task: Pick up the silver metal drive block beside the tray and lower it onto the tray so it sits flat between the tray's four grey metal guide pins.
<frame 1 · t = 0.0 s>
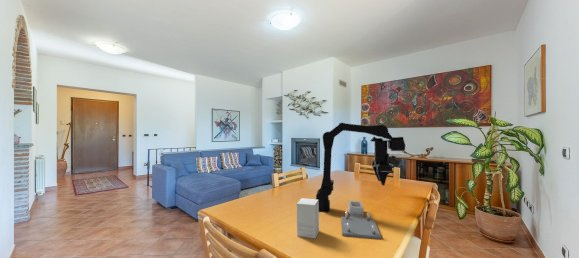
hand: (381, 183, 109), 15 cm above the table, tool pointing down, fingers open, 9 cm apart
pin tray: (359, 227, 92), on the table
drive block: (355, 214, 108), on the table
supplement box: (308, 234, 88), on the table
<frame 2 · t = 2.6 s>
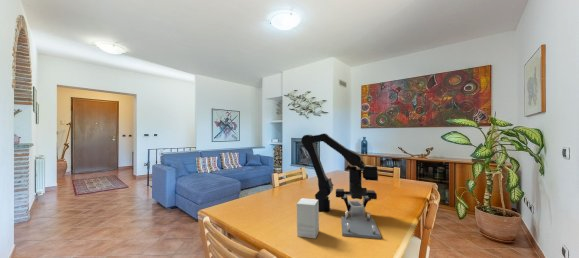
hand: (355, 211, 108), 1 cm above the table, tool pointing down, fingers closed on drive block, 6 cm apart
drive block: (355, 213, 108), on the table, touching gripper
everything else where it was.
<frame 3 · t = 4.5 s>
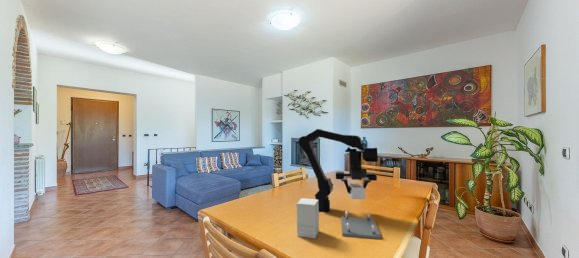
hand: (355, 193, 108), 10 cm above the table, tool pointing down, fingers closed on drive block, 6 cm apart
drive block: (355, 196, 108), point 9 cm above the table, touching gripper
everything else where it was.
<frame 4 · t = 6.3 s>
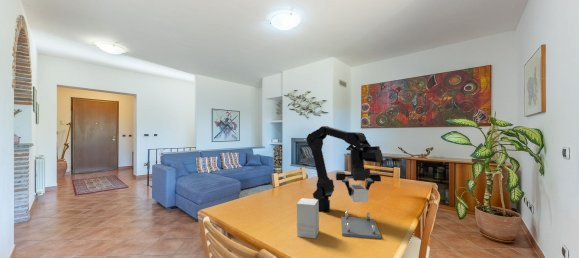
hand: (357, 196, 99), 11 cm above the table, tool pointing down, fingers closed on drive block, 6 cm apart
drive block: (357, 198, 99), point 10 cm above the table, touching gripper
everything else where it was.
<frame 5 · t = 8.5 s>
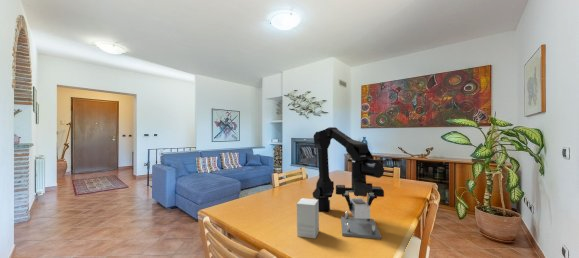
hand: (358, 211, 93), 7 cm above the table, tool pointing down, fingers closed on drive block, 6 cm apart
drive block: (358, 213, 93), point 6 cm above the table, touching gripper
everything else where it was.
when the fingers open (3 cm above the table, at t = 10.1 s): drive block drops 1 cm, resting on pin tray.
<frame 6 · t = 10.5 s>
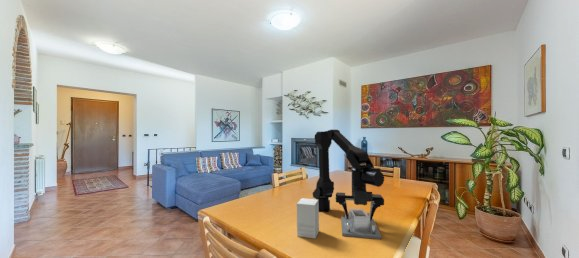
hand: (359, 219, 92), 3 cm above the table, tool pointing down, fingers open, 9 cm apart
drive block: (359, 225, 92), point 1 cm above the table, touching pin tray
everything else where it was.
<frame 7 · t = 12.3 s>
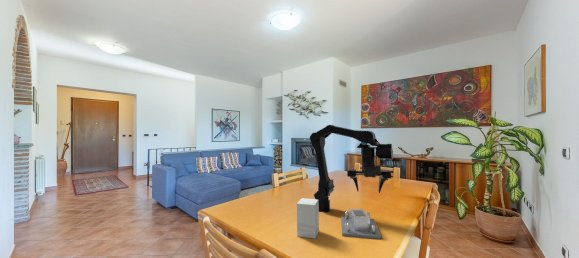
hand: (368, 192, 102), 12 cm above the table, tool pointing down, fingers open, 9 cm apart
nothing on the table moved.
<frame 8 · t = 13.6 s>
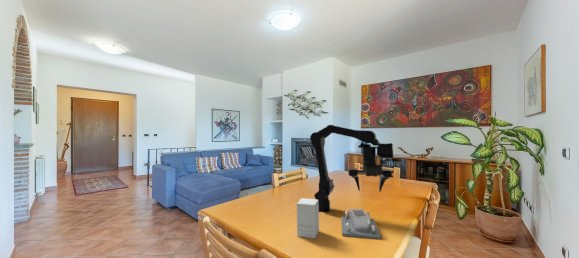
hand: (369, 191, 104), 12 cm above the table, tool pointing down, fingers open, 9 cm apart
nothing on the table moved.
at the end: drive block 0.0 cm off-centre on the pin tray, point 1.0 cm above the pin tray's base; drive block tilted 0°; the gripper is holding nothing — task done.
